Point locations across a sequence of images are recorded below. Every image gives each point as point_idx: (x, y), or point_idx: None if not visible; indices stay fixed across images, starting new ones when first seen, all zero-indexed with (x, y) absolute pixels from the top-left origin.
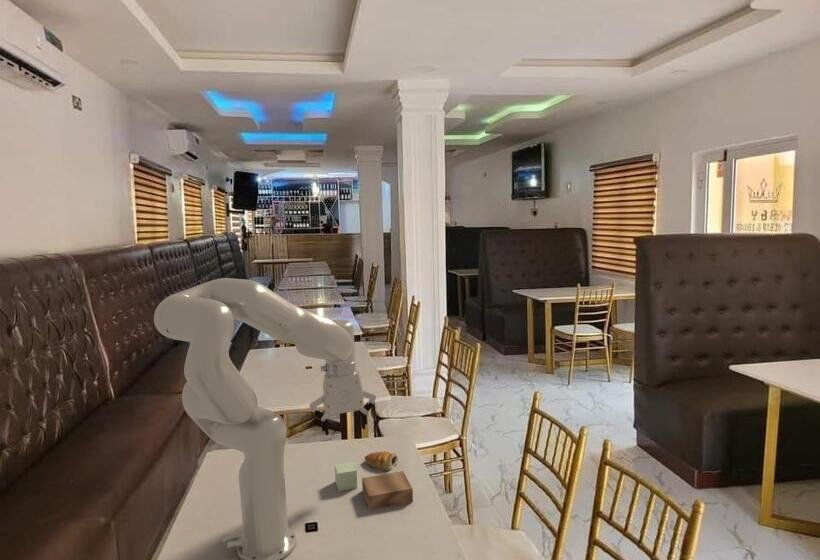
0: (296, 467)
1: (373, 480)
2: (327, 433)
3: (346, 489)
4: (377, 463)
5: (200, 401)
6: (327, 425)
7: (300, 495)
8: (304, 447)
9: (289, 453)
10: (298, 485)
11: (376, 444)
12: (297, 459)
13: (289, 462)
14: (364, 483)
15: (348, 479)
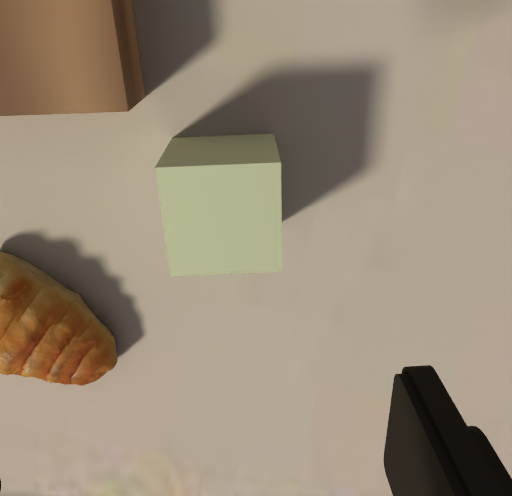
0: None
1: (51, 55)
2: (420, 378)
3: (230, 135)
4: (49, 295)
5: None
6: (459, 481)
7: (464, 147)
8: (357, 491)
9: None
10: (449, 238)
11: (67, 458)
12: None
13: None
14: (114, 33)
15: (214, 151)
